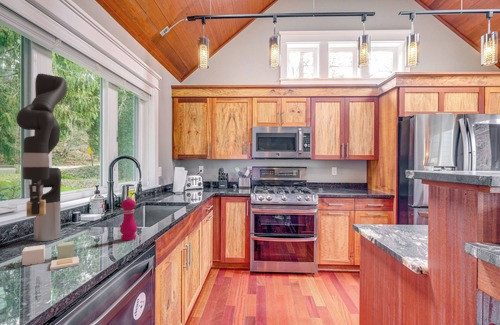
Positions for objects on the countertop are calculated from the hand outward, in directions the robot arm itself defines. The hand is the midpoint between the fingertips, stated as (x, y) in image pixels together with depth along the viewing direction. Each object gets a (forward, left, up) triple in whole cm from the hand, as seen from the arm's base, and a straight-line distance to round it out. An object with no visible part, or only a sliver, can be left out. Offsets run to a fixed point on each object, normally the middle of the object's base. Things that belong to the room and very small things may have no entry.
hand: (36, 212), depth 98 cm
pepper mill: (+18, +30, -18) cm, 39 cm away
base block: (0, 0, -17) cm, 17 cm away
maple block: (0, 0, -1) cm, 1 cm away
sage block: (+7, +5, -17) cm, 20 cm away
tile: (+13, -2, -17) cm, 22 cm away
